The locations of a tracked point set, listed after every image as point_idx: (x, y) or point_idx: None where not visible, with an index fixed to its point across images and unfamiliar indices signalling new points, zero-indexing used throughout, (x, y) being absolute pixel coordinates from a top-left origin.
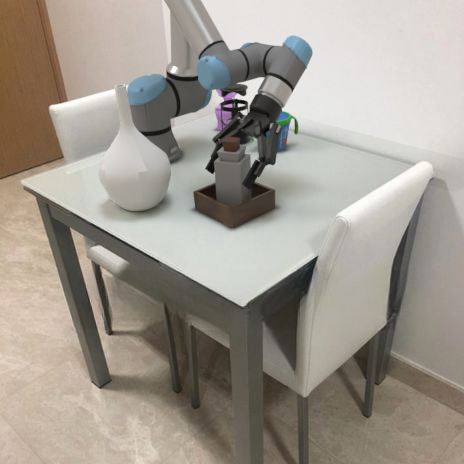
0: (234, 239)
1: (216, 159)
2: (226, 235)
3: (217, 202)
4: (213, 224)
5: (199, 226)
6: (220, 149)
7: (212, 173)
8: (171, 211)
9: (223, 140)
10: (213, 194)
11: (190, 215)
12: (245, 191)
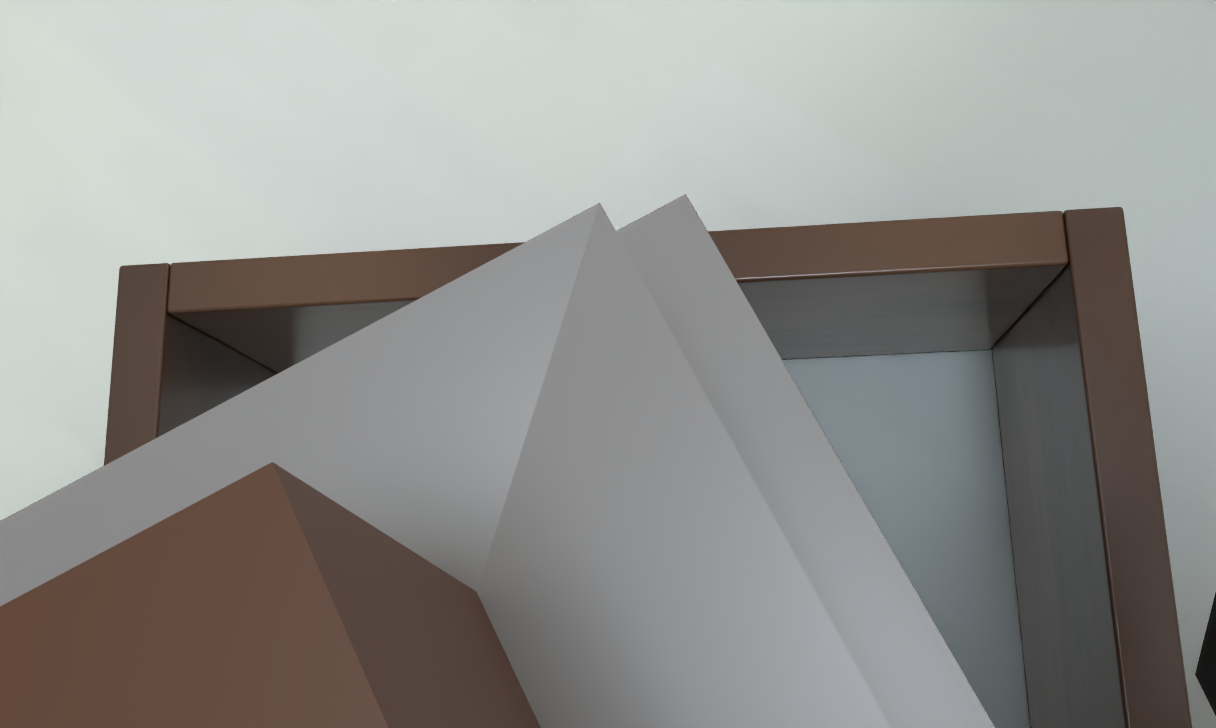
0: (71, 205)
1: (797, 393)
2: (200, 194)
3: (466, 255)
4: (510, 239)
5: (597, 89)
6: (748, 564)
7: (1208, 655)
8: (1209, 45)
9: (358, 704)
10: (1059, 637)
11: (924, 165)
12: None
